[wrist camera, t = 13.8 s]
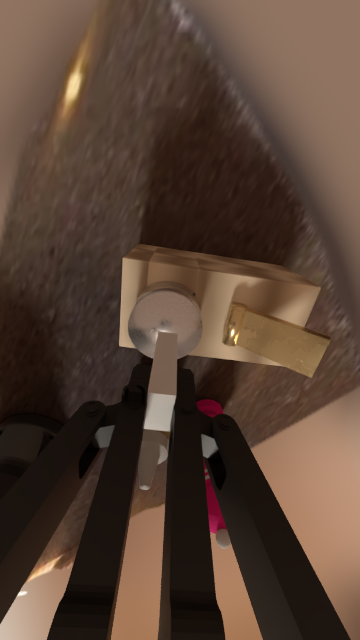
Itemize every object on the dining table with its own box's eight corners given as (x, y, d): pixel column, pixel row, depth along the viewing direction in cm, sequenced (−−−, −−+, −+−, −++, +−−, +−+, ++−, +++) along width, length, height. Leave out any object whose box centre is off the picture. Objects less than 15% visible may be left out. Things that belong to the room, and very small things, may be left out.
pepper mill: (191, 394, 43) (201, 529, 25) (229, 399, 43) (265, 535, 25) (184, 421, 46) (187, 559, 28) (219, 426, 46) (244, 564, 28)
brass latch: (225, 337, 26) (219, 342, 25) (235, 301, 24) (229, 304, 23) (312, 374, 22) (309, 382, 21) (331, 334, 20) (330, 341, 19)
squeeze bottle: (149, 349, 38) (127, 452, 22) (190, 370, 40) (197, 478, 24) (127, 382, 41) (94, 494, 25) (166, 399, 43) (159, 514, 27)
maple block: (134, 311, 35) (119, 346, 26) (139, 243, 31) (122, 257, 22) (260, 327, 37) (287, 366, 28) (281, 265, 32) (321, 287, 23)
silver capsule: (143, 308, 33) (126, 356, 22) (147, 260, 30) (129, 289, 19) (190, 313, 33) (196, 364, 23) (198, 267, 30) (209, 299, 20)
